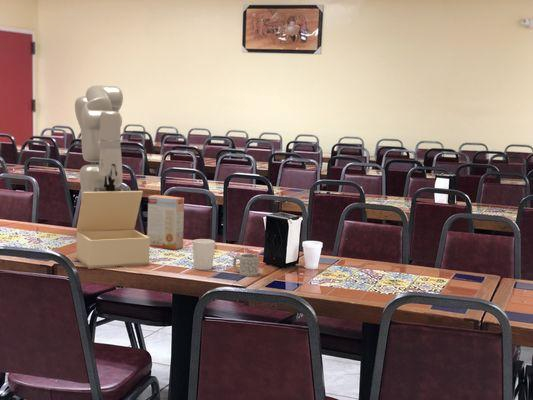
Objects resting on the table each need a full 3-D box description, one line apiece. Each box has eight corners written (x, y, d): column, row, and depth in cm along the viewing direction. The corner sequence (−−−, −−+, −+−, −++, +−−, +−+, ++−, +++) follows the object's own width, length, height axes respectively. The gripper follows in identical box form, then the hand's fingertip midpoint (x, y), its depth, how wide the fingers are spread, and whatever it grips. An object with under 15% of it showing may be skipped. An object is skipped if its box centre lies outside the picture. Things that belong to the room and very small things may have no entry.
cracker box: (183, 248, 312) (185, 197, 309) (175, 250, 306) (176, 198, 303) (155, 244, 318) (156, 194, 315) (146, 246, 312) (147, 195, 310)
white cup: (200, 264, 282) (201, 238, 281) (218, 268, 278) (219, 240, 277) (187, 268, 275) (188, 241, 274) (205, 271, 272) (206, 243, 270)
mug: (261, 274, 272) (262, 255, 271) (251, 277, 266) (252, 258, 265) (238, 269, 277) (238, 251, 276) (227, 273, 271) (228, 254, 270)
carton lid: (76, 231, 282) (73, 221, 286) (134, 229, 292) (130, 219, 296) (83, 192, 272) (79, 182, 276) (142, 191, 282) (138, 182, 286)
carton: (76, 258, 283) (76, 231, 282) (133, 255, 294) (134, 229, 292) (88, 268, 268) (89, 240, 266) (149, 265, 278) (149, 238, 276)
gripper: (94, 144, 286) (93, 193, 288) (105, 146, 272) (105, 197, 274) (113, 144, 289) (113, 192, 291) (126, 146, 275) (125, 197, 277)
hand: (109, 194), depth 282 cm, fingers closed on carton lid, 2 cm apart
